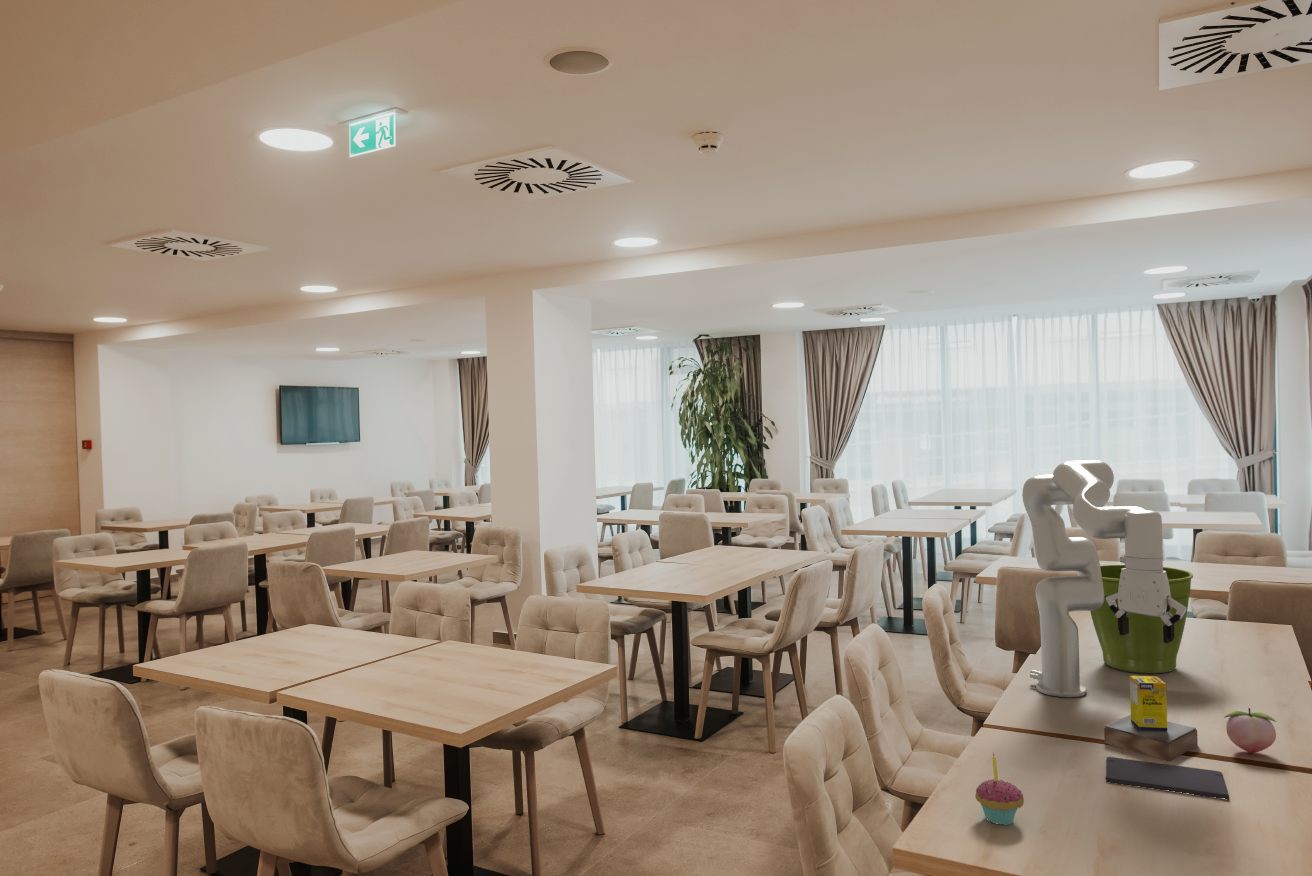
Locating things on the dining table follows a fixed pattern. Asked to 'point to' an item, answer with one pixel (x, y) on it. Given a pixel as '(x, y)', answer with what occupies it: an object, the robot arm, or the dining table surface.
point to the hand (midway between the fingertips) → (1145, 638)
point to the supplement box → (1148, 703)
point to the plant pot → (1140, 627)
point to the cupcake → (999, 798)
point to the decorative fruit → (1250, 730)
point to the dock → (1151, 739)
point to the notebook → (1166, 777)
